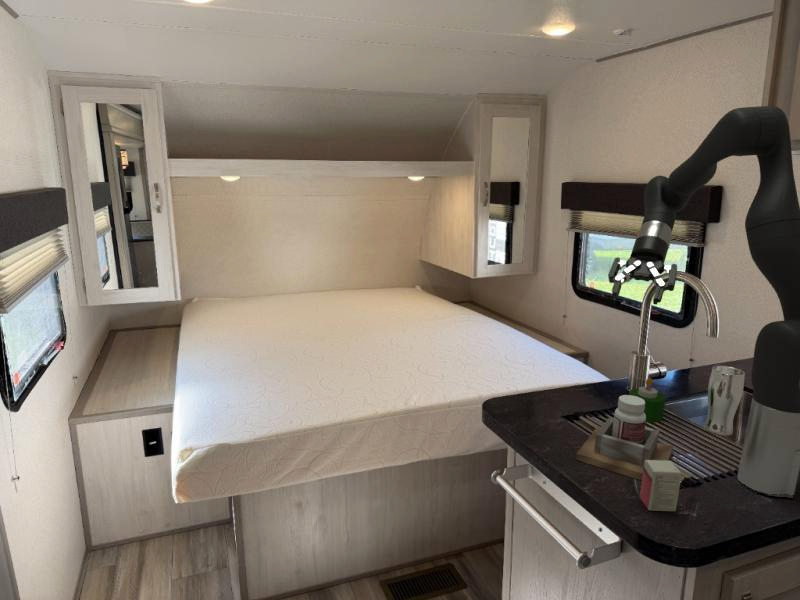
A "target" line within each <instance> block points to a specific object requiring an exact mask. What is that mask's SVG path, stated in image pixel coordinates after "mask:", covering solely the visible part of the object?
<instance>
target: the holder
mask: <svg viewBox="0 0 800 600" xmlns="http://www.w3.org/2000/svg"><path fill="white" fill-rule="evenodd" d="M613 422H614V417H613V418H612V417H608V418H607V419H606V421H605V422H604V424H603V425H602V426H600V425H599V426H597V427H596V428H595V429H594V430H593V432H592V433H591V434H590V436H589V437H588V438H587V439H586V441H585V442H584V443H583V444H582V445H581V447H580V448H579V450H577V452H576V454H575V455H576V456H575V461H577V460H578V461H577V462H581V461H582V462H581V463H585V464H587V465H590V464H591V466H593V465H594V467H597V468H600V469H604V470H607V471H610V472H613V473H616V474H619V475H622V476H623V475H624V476H626V477H630V478H632V479H636V480H640V481H642V477H643V469H644V462H645V460H665V461H670V459H671V457H672V454H673V451H674V446H672V445H669V444H666V443H661V442H659V435H660V430H659V429H654V428H651V427H647V426H645V430H644V437H643V444H642V445H641V444H637V443H633V442H630V441H626V440H623V439H619V438H615V437H612V430H613Z"/></svg>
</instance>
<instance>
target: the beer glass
mask: <svg viewBox="0 0 800 600" xmlns="http://www.w3.org/2000/svg"><path fill="white" fill-rule="evenodd" d="M711 368H712V370H711V373H710V377H709V380H708V385H707V405H708V407H707V408H708V410H707V416H706V419H705V421H704V424H703V429H705V430H706V431H707V432H709V433H710V434H714V435H717V436H721V437H722V436H723V437H728V436H729V437H730V436H732V435H733V434H734V425H733V424H734V418H735V415H736V412H737V410H738V407H739V404H740V402H741V400H742V396H743V392H744V386H745V385H744V384H745V377H746V376H745V375H746V373H745V371H743V370H742V369H739V368H736V367H733V366H728V365H713V367H711Z"/></svg>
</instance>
